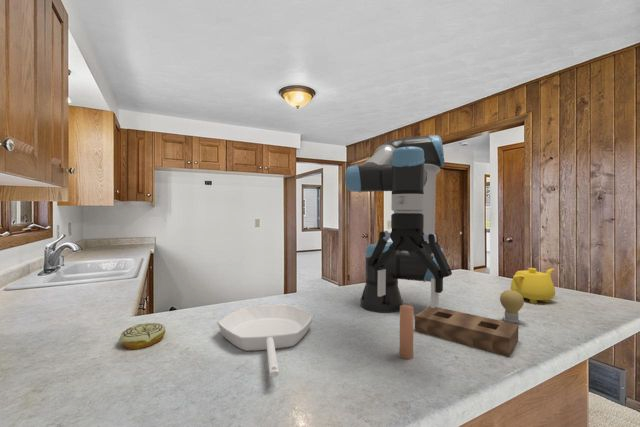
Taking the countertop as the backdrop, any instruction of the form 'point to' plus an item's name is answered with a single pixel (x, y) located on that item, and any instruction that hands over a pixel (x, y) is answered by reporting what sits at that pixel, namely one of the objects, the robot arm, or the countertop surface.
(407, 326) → the peg
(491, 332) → the hole block
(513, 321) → the light bulb
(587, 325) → the countertop surface
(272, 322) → the pan
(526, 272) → the teapot
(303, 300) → the countertop surface
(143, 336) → the decorated donut
